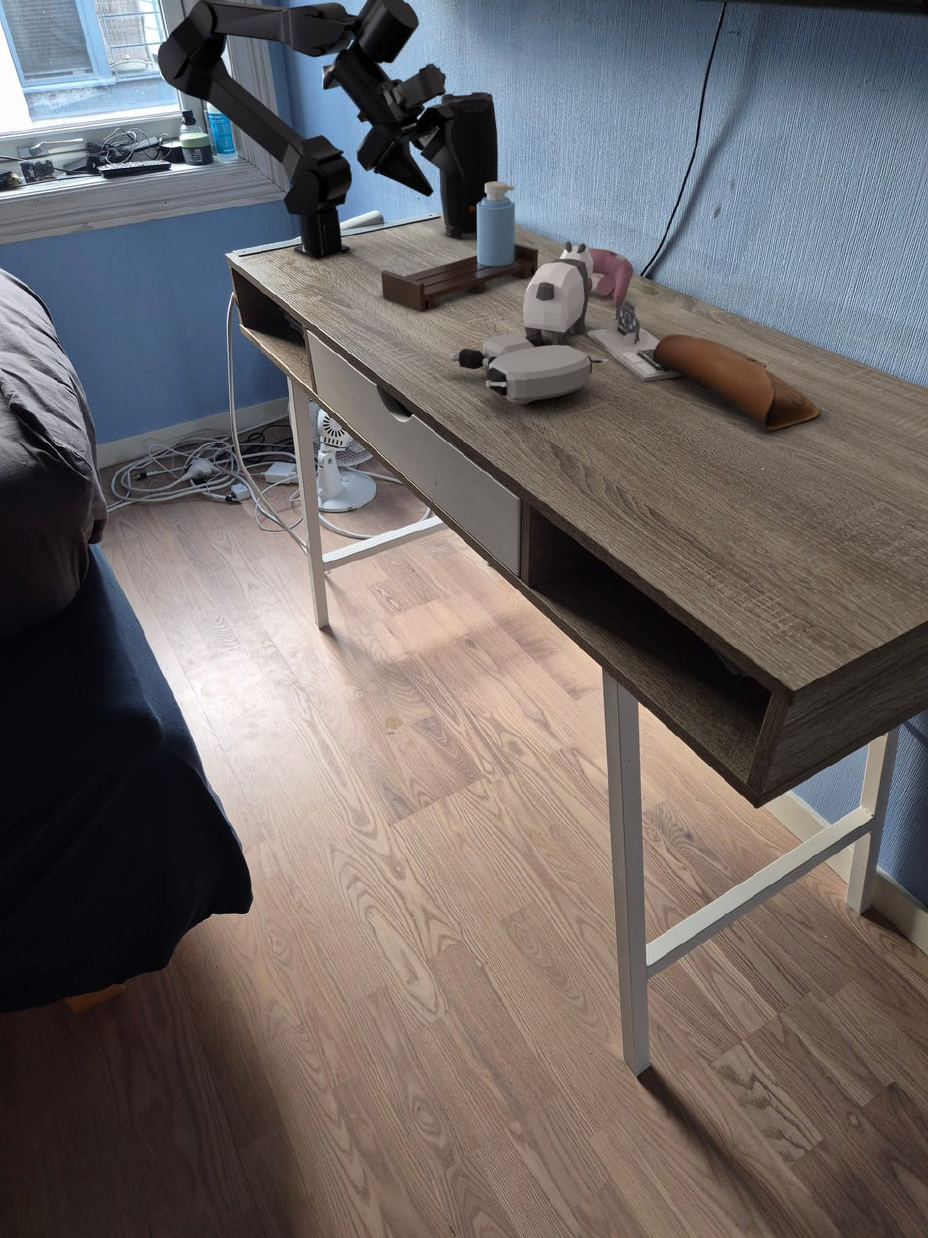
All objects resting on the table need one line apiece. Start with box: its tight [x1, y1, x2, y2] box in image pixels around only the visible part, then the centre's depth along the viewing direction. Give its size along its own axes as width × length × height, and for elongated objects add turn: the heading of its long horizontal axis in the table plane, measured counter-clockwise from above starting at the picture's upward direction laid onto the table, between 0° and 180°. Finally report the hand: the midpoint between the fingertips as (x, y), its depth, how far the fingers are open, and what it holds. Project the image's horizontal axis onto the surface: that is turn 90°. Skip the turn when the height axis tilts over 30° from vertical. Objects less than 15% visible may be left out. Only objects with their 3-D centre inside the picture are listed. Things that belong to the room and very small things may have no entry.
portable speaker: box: [438, 91, 499, 239], centre depth 136 cm, size 9×9×20 cm
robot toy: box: [448, 333, 609, 405], centre depth 93 cm, size 12×4×15 cm
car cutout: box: [586, 300, 683, 382], centre depth 100 cm, size 15×7×4 cm, turn 18°
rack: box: [380, 242, 539, 312], centre depth 120 cm, size 8×22×4 cm, turn 133°
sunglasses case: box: [653, 333, 821, 432], centre depth 91 cm, size 18×7×7 cm, turn 28°
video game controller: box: [587, 247, 634, 307], centre depth 115 cm, size 10×5×7 cm, turn 65°
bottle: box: [476, 181, 516, 266], centre depth 120 cm, size 5×5×10 cm
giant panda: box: [522, 241, 594, 346], centre depth 104 cm, size 15×6×10 cm, turn 155°
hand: (446, 186), depth 121 cm, fingers open, 9 cm apart
